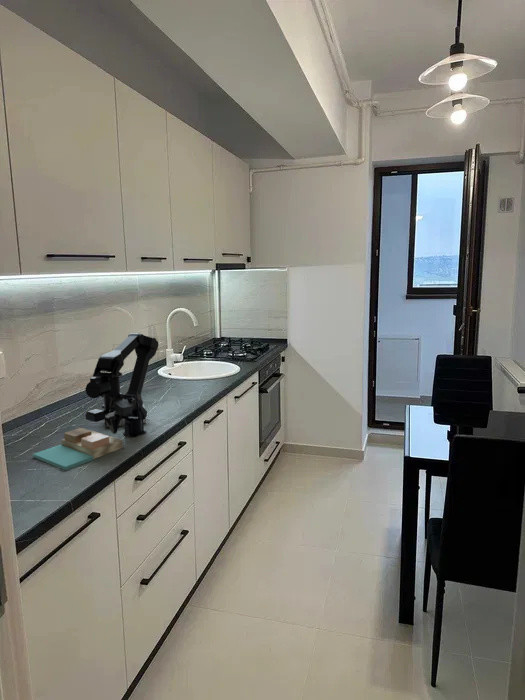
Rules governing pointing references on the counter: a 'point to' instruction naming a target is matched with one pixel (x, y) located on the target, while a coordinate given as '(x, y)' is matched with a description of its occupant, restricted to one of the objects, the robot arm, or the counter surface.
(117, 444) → the deck
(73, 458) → the mat
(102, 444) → the blush pink tile
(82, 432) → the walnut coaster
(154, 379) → the counter surface
